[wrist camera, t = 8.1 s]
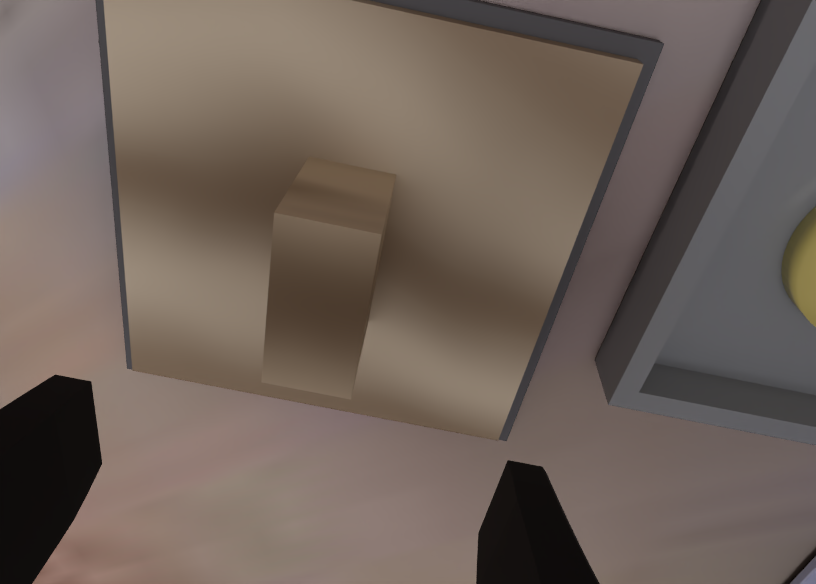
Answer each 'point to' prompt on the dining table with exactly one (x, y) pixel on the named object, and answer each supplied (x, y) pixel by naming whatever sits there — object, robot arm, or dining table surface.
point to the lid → (350, 198)
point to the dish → (734, 254)
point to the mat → (464, 6)
